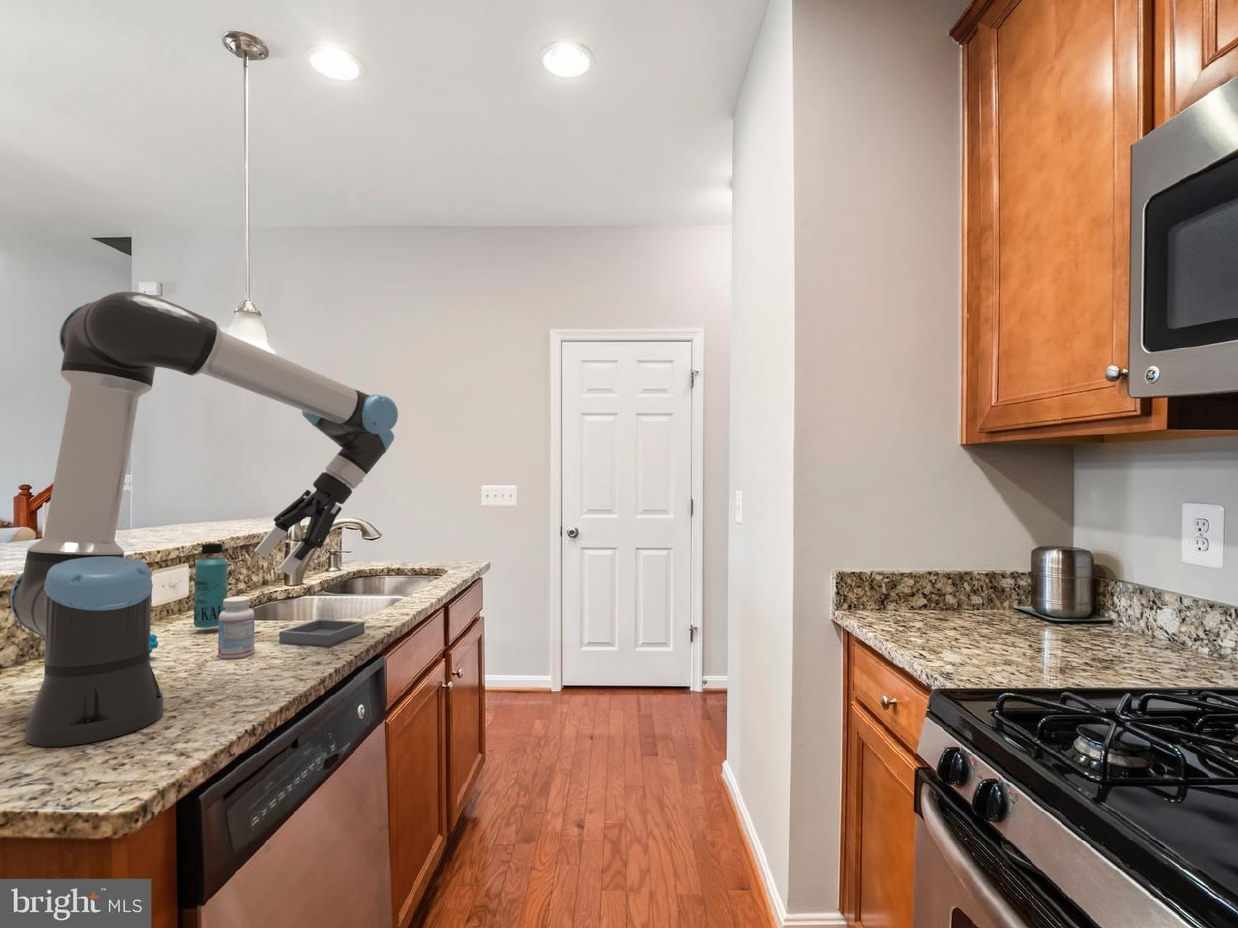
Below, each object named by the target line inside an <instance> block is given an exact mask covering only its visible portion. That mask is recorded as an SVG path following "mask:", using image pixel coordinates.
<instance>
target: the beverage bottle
mask: <svg viewBox="0 0 1238 928" xmlns="http://www.w3.org/2000/svg"><path fill="white" fill-rule="evenodd" d="M222 553H223V544H222V543H216V542H215V543H214V542H213V543H211V542H210V543H204V544H201V550H200V554H201V555H202V554H204V555H206V554H208V555H209V554H222ZM228 564H229V563H228V560H226V559H224V558H223V557H206V558H205V557H204V558H201V559H199V560H198V561H197V562H195V565H194V566H195V571H194V573H195V579H194V589H193V590H194V594H193V595H194V600H193V602H194V605H193V615H192V616H193V621H192V622H193V624H194V627H195V628H198V629H202V628H203V629H207V628H214V627H219V615H220V613H221V612H222V611H224V610H225V608H224V606H223V600H224V599H226V598H228V593H229V592H228Z"/></svg>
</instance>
